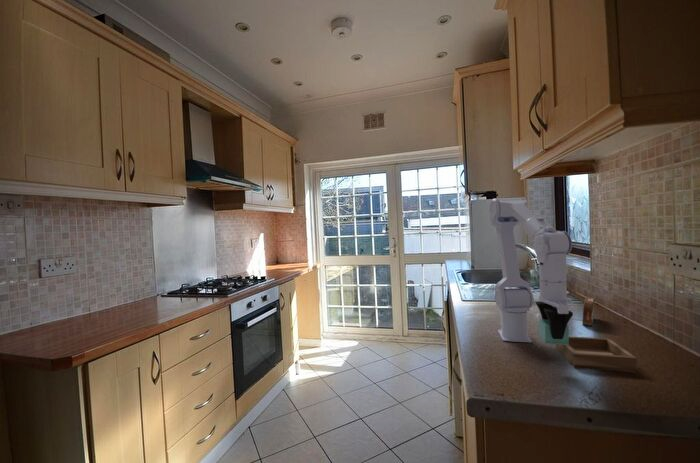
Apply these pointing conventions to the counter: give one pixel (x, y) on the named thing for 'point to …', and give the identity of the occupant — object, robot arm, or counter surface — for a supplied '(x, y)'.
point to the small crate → (546, 334)
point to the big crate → (597, 354)
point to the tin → (588, 311)
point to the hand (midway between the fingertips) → (553, 334)
